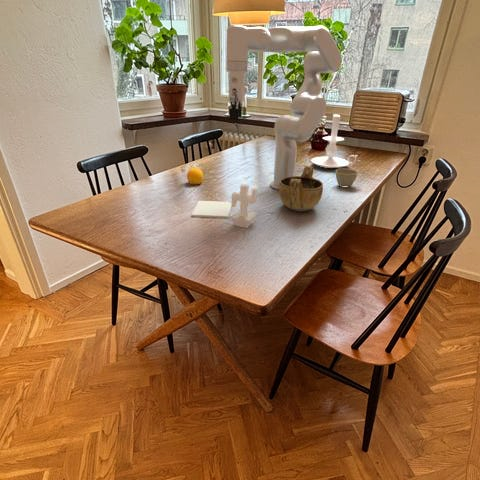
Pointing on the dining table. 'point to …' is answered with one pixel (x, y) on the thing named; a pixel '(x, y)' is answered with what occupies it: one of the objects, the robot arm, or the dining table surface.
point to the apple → (195, 176)
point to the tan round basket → (301, 191)
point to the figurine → (244, 206)
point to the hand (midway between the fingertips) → (235, 118)
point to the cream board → (212, 209)
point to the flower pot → (346, 176)
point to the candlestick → (333, 149)
